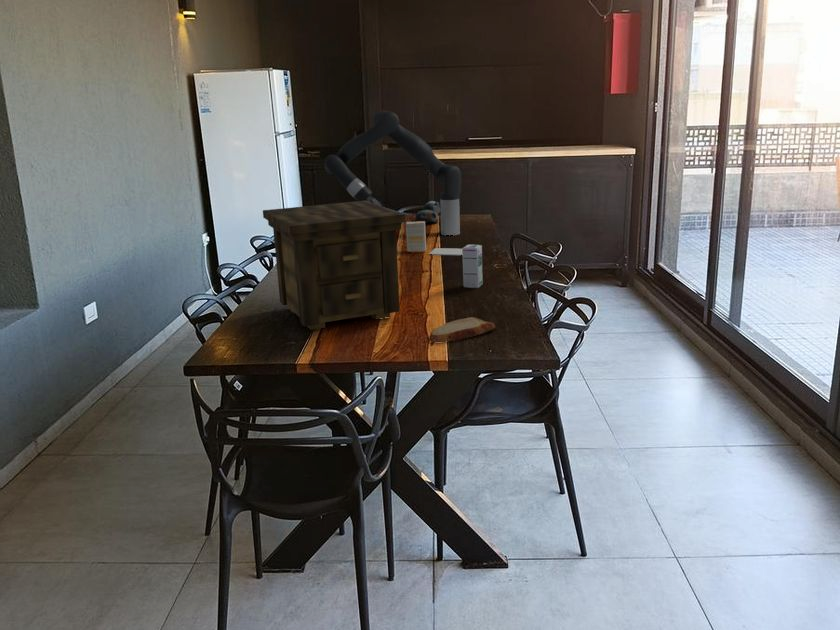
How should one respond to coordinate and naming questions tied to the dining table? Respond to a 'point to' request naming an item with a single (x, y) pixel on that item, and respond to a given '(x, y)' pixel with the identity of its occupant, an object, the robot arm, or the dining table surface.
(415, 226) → the supplement box
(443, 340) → the slice of bread
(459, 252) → the felt pad
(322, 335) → the dining table surface
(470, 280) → the syrup box
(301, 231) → the wooden bedside nightstand
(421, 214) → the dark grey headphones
